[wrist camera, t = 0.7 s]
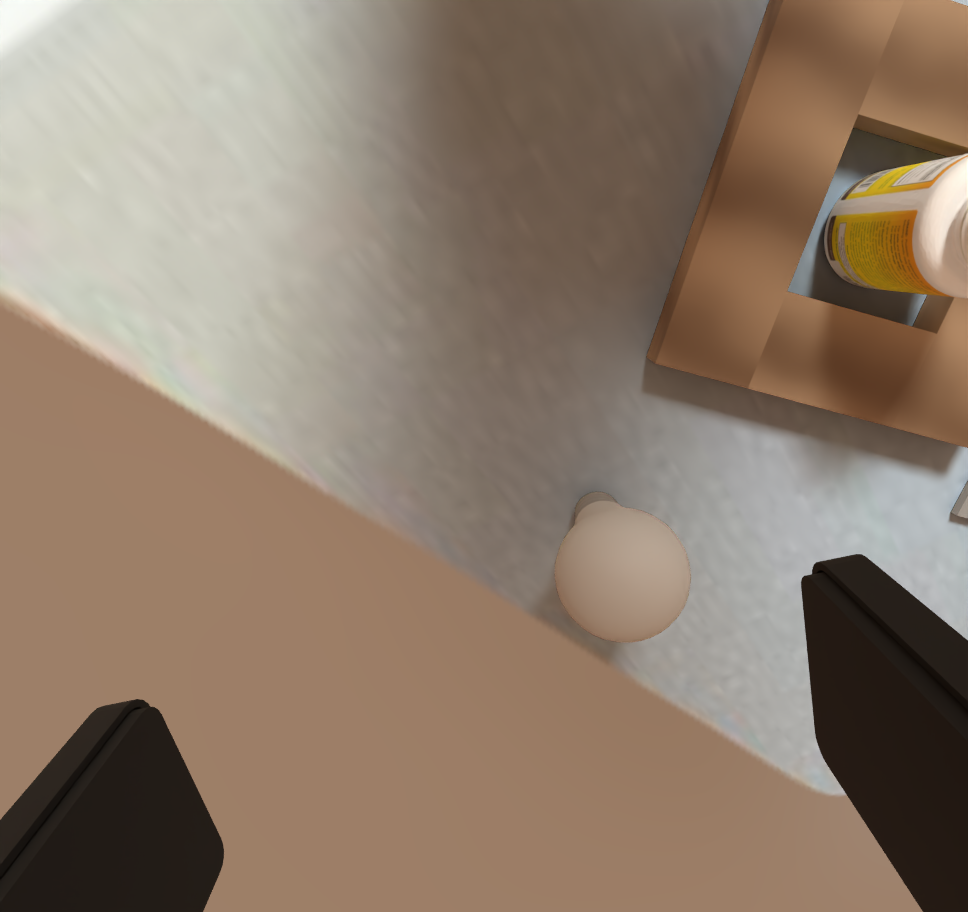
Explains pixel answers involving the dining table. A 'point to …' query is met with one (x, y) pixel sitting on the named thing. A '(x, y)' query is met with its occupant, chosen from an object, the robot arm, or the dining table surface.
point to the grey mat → (962, 504)
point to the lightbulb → (621, 571)
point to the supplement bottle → (904, 229)
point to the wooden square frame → (795, 206)
